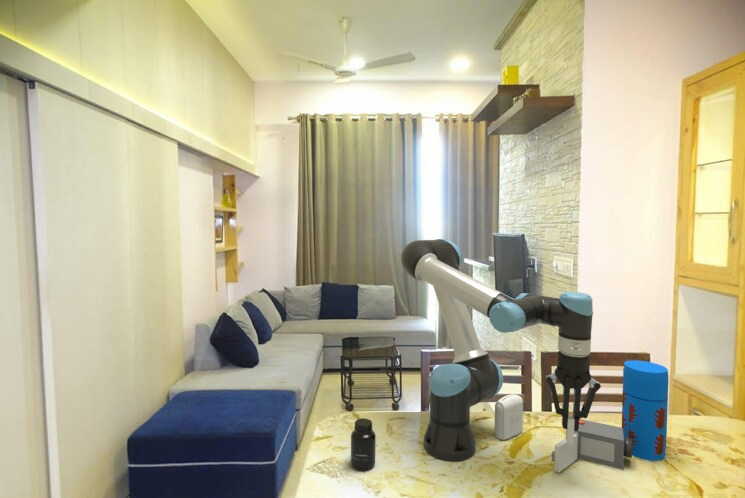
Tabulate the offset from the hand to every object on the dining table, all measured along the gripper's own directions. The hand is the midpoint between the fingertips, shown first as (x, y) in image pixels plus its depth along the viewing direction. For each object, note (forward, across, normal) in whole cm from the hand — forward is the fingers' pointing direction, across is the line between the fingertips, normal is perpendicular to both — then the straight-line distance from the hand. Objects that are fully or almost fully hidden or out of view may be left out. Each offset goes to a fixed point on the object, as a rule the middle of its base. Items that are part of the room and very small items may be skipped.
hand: (569, 440), depth 105 cm
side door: (+9, 0, +4) cm, 10 cm away
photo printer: (+10, -15, +17) cm, 25 cm away
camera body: (+9, +9, +12) cm, 17 cm away
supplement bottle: (+11, -53, -13) cm, 55 cm away
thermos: (+9, +22, +19) cm, 31 cm away
